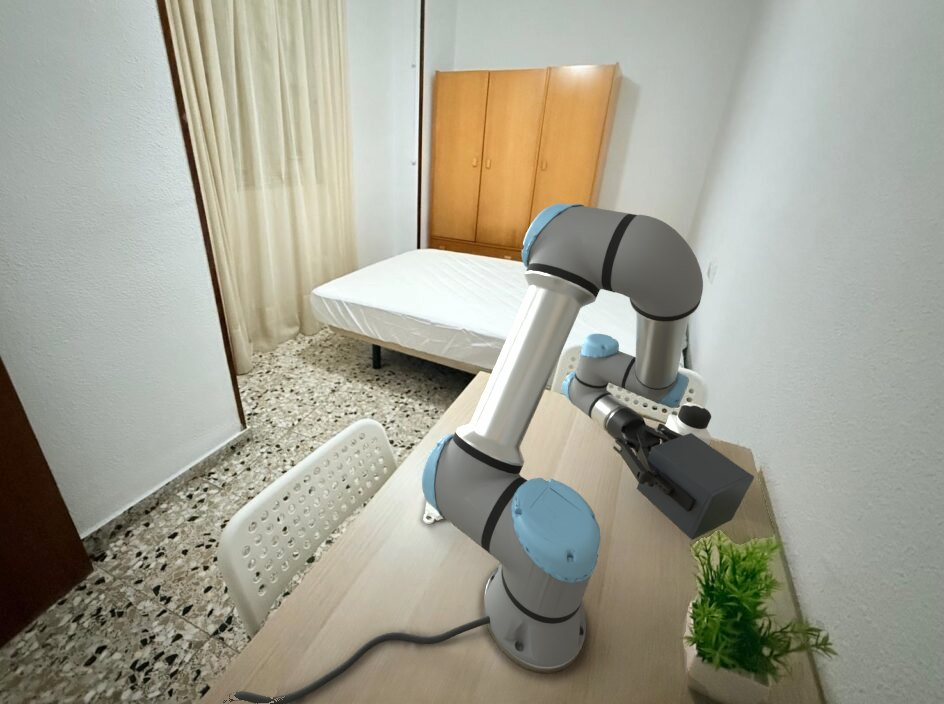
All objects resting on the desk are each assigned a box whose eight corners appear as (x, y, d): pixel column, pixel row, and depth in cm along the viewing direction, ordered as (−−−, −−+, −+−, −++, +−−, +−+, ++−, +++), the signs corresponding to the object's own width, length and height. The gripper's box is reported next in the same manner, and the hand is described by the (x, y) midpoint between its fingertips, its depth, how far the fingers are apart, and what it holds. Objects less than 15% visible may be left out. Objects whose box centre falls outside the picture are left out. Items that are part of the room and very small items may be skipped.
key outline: (473, 485, 85) (474, 479, 84) (485, 503, 81) (486, 497, 80) (416, 504, 80) (416, 498, 79) (425, 525, 76) (426, 519, 75)
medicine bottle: (702, 462, 93) (721, 421, 88) (669, 456, 94) (685, 416, 89) (691, 441, 100) (707, 402, 94) (660, 436, 101) (675, 397, 96)
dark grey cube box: (731, 520, 75) (754, 476, 70) (692, 540, 71) (713, 495, 66) (674, 473, 85) (691, 432, 80) (636, 488, 80) (651, 446, 76)
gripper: (650, 421, 96) (746, 491, 78) (573, 446, 87) (661, 531, 69) (659, 395, 92) (762, 462, 74) (580, 418, 84) (674, 500, 66)
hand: (713, 495), depth 72 cm, fingers closed on dark grey cube box, 11 cm apart
